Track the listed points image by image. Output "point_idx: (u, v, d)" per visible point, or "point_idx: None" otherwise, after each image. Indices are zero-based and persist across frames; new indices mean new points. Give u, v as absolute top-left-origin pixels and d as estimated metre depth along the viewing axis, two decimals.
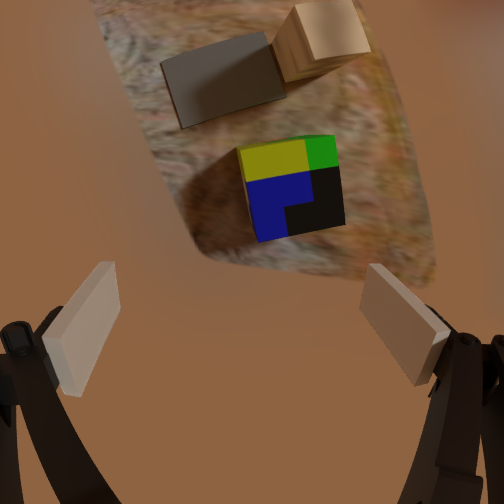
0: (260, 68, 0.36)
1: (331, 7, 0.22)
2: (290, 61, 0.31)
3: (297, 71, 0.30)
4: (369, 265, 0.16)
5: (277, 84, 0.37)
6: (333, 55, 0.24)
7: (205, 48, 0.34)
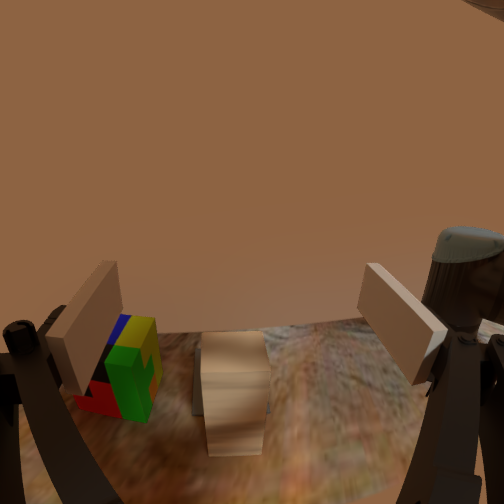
0: None
1: (258, 353, 0.28)
2: None
3: None
4: (367, 264, 0.16)
5: None
6: (202, 343, 0.29)
7: None
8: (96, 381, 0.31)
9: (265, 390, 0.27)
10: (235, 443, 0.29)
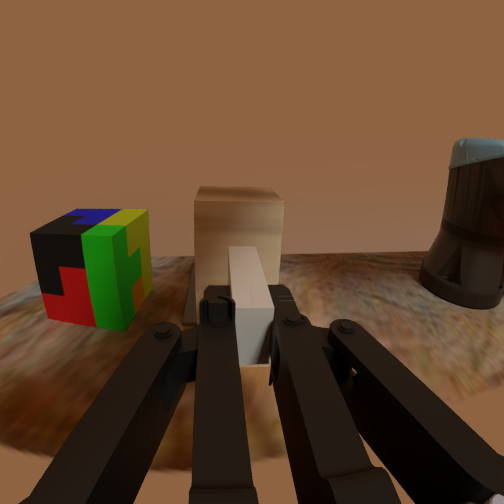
0: None
1: (268, 195, 0.23)
2: None
3: None
4: (242, 247, 0.17)
5: None
6: (199, 190, 0.24)
7: None
8: (70, 268, 0.27)
9: (276, 238, 0.22)
10: None
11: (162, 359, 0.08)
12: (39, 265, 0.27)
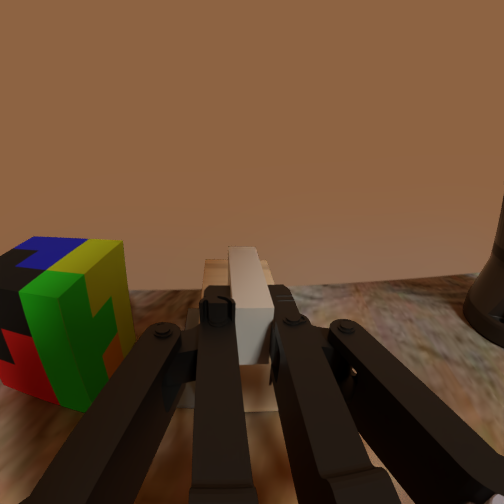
0: None
1: None
2: None
3: None
4: (242, 248, 0.17)
5: None
6: None
7: None
8: (14, 333, 0.16)
9: (266, 270, 0.29)
10: None
11: (162, 359, 0.08)
12: None
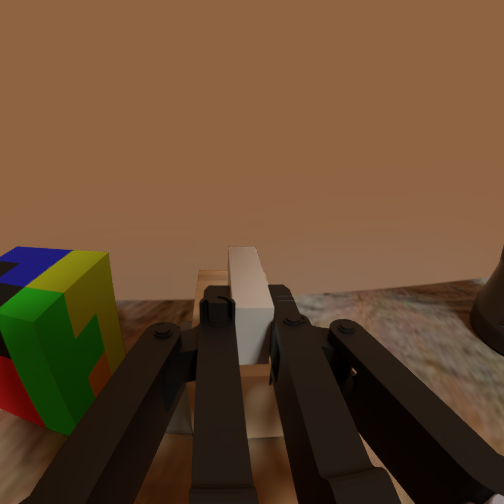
0: None
1: None
2: None
3: None
4: (242, 247, 0.17)
5: None
6: None
7: None
8: None
9: None
10: None
11: (162, 359, 0.08)
12: None
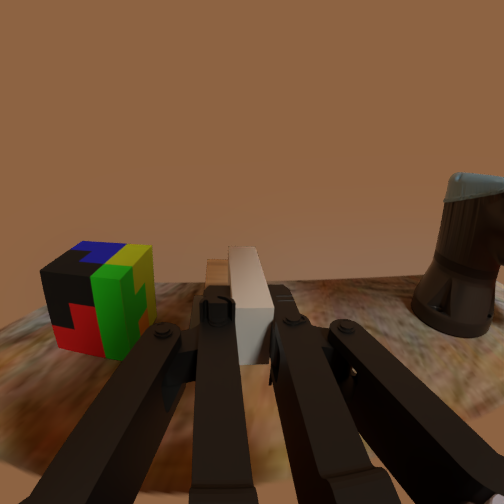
0: None
1: None
2: None
3: None
4: (242, 247, 0.17)
5: None
6: None
7: None
8: (80, 305, 0.29)
9: None
10: None
11: (162, 359, 0.08)
12: (49, 300, 0.29)
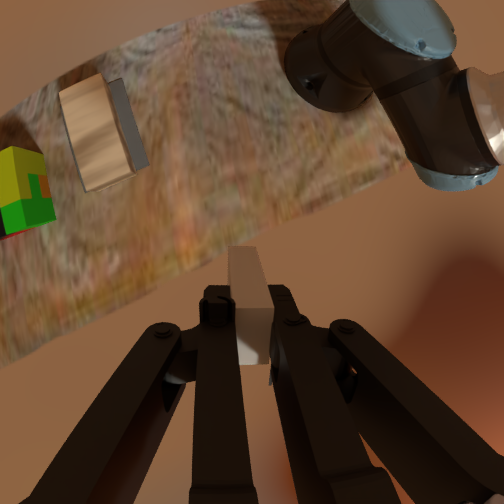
0: None
1: None
2: None
3: None
4: (242, 247, 0.17)
5: None
6: None
7: (130, 114, 0.38)
8: (8, 235, 0.32)
9: (102, 89, 0.31)
10: (101, 159, 0.33)
11: (162, 359, 0.08)
12: None
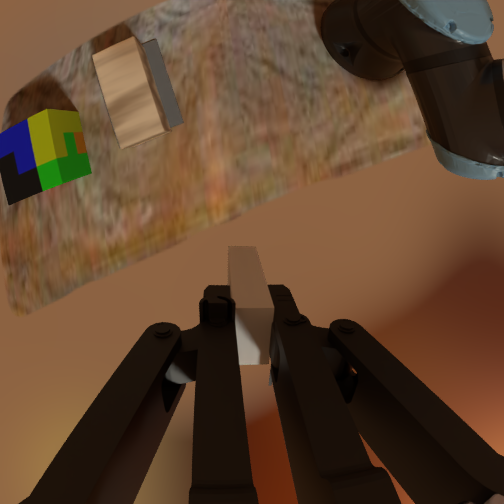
0: None
1: None
2: None
3: None
4: (242, 247, 0.17)
5: None
6: None
7: (164, 74, 0.38)
8: None
9: (135, 52, 0.31)
10: (135, 119, 0.35)
11: (162, 359, 0.08)
12: None
